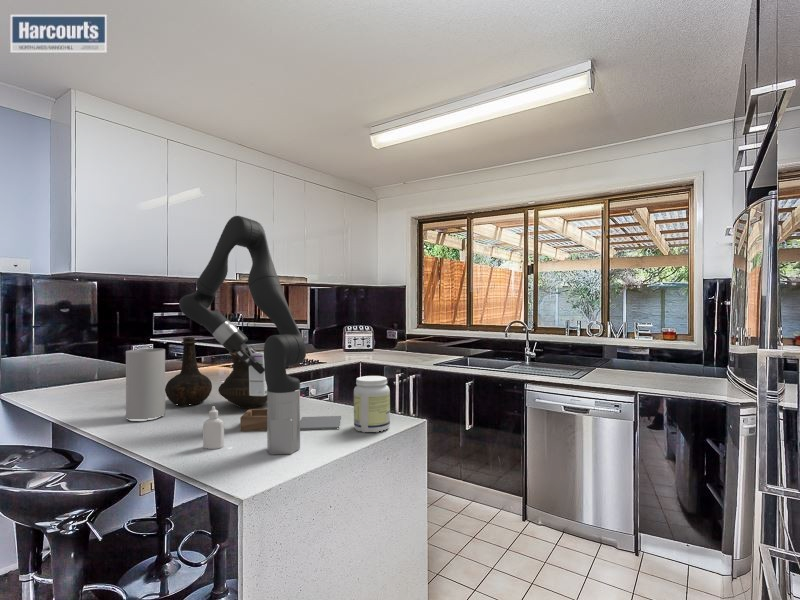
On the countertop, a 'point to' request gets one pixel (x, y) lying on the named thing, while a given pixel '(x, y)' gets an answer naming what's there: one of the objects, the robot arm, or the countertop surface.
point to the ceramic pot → (240, 386)
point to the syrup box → (257, 378)
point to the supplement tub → (371, 404)
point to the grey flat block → (320, 422)
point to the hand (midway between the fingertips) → (265, 370)
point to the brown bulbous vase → (188, 379)
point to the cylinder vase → (145, 383)
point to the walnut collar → (254, 420)
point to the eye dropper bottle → (213, 431)
